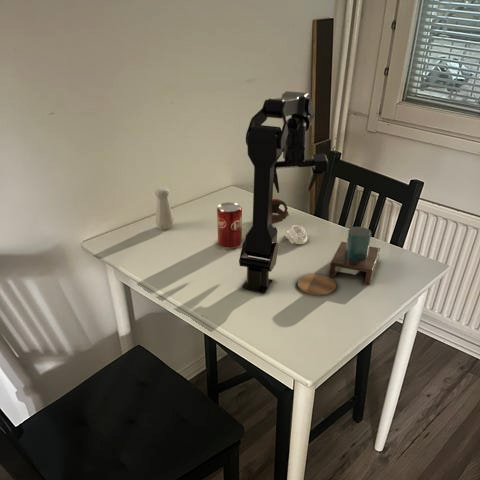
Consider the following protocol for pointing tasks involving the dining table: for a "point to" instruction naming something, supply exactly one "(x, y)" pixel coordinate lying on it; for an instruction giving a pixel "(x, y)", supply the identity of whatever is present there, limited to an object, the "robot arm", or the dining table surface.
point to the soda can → (229, 225)
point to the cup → (358, 243)
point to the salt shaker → (163, 209)
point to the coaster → (316, 284)
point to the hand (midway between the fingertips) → (293, 191)
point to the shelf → (355, 262)
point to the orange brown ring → (278, 211)
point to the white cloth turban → (294, 237)
